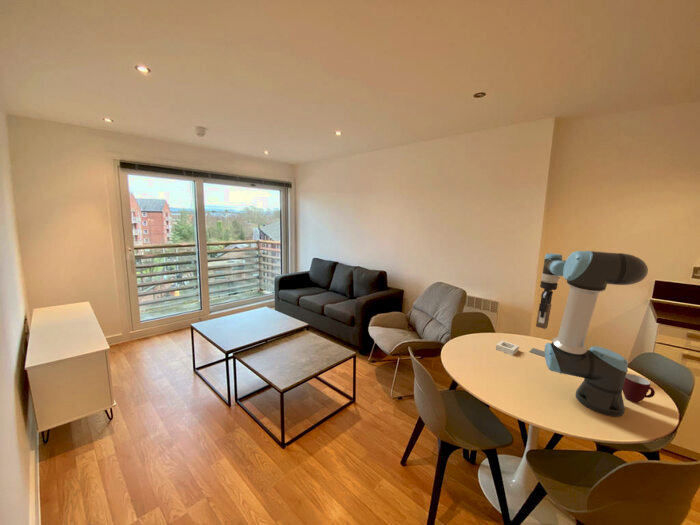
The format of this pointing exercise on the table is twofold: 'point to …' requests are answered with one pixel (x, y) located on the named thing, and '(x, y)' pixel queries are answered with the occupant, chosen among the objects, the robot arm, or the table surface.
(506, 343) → the socket block
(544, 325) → the peg
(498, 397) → the table surface
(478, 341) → the table surface
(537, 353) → the mat
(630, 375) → the mug
